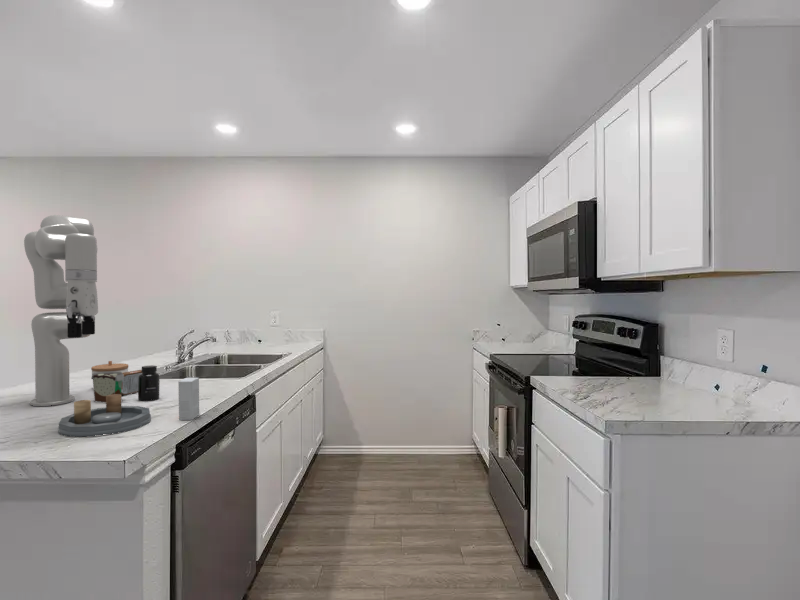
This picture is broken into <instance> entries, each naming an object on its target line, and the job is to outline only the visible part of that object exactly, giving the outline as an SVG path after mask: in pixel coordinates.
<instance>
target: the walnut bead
mask: <svg viewBox="0 0 800 600" xmlns="http://www.w3.org/2000/svg"><path fill="white" fill-rule="evenodd" d="M121 406H122V395H121V394H112V395H107V396H106V403H105V407H106V413H110V412H118V413H121Z"/></svg>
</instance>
